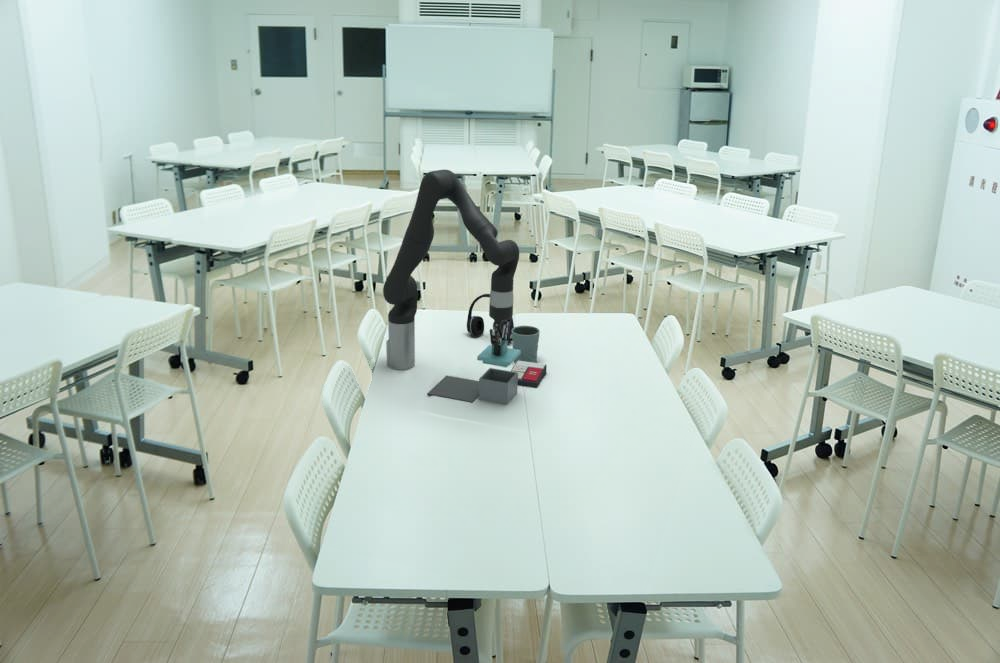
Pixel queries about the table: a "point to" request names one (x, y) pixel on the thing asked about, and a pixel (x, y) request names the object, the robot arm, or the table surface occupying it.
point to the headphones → (482, 322)
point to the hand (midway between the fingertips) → (499, 352)
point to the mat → (456, 389)
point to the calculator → (529, 373)
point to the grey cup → (526, 342)
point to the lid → (502, 360)
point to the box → (498, 386)
